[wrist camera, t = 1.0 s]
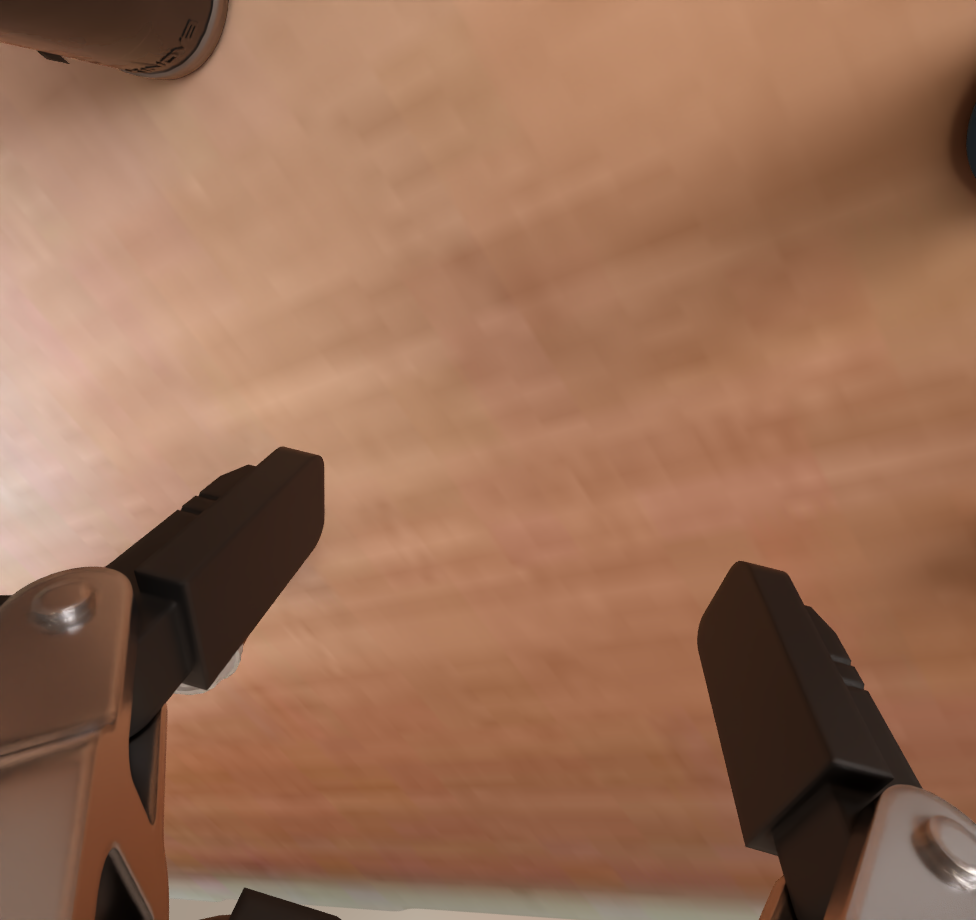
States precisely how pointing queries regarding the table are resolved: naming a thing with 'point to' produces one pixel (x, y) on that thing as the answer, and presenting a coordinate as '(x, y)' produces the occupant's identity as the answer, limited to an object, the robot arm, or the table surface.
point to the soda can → (972, 141)
